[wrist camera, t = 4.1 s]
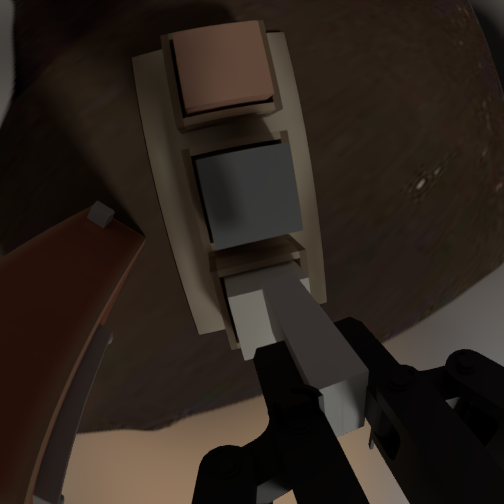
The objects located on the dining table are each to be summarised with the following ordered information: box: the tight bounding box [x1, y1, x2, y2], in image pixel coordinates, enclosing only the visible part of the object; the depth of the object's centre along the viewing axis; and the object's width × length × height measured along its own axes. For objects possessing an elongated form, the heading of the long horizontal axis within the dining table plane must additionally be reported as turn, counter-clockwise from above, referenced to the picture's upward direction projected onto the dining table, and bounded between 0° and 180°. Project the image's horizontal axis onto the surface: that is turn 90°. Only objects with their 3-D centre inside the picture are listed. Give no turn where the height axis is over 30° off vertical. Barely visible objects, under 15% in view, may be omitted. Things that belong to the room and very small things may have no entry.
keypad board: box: [132, 20, 327, 350], centre depth 20 cm, size 12×24×4 cm, turn 11°
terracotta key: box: [172, 21, 274, 117], centre depth 15 cm, size 5×5×4 cm
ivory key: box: [224, 260, 311, 360], centre depth 20 cm, size 5×5×4 cm
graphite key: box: [196, 142, 303, 250], centre depth 17 cm, size 5×5×4 cm
